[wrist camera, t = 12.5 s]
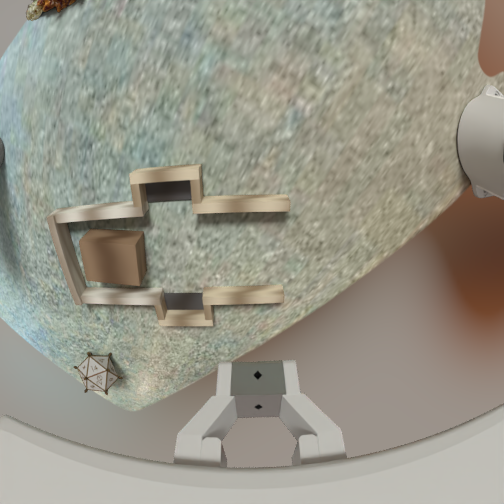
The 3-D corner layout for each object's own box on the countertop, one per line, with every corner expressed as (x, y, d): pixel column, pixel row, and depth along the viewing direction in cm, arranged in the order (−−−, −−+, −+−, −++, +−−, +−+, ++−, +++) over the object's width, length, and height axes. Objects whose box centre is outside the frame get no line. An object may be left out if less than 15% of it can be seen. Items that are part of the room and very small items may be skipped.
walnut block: (144, 230, 36) (135, 245, 32) (147, 269, 39) (139, 286, 35) (91, 227, 35) (78, 241, 31) (97, 265, 38) (86, 280, 34)
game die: (101, 337, 50) (74, 344, 40) (134, 362, 49) (111, 375, 39) (87, 370, 49) (60, 382, 39) (118, 395, 48) (95, 411, 38)
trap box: (288, 162, 32) (292, 167, 30) (279, 312, 43) (282, 325, 41) (51, 181, 31) (39, 188, 28) (90, 312, 42) (84, 324, 39)
